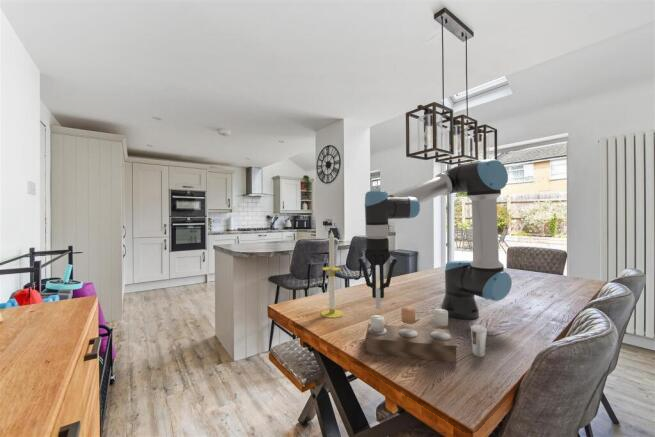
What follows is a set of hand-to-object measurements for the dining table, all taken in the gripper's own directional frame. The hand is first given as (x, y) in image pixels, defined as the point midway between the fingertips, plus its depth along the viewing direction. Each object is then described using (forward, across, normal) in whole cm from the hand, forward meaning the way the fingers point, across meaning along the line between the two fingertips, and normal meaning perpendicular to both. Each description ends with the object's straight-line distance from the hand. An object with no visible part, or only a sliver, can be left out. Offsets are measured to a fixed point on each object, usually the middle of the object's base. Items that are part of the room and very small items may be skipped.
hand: (378, 307), depth 96 cm
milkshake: (+14, -30, 0) cm, 33 cm away
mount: (+13, -9, 0) cm, 16 cm away
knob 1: (+7, 0, 0) cm, 7 cm away
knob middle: (+4, -10, 0) cm, 10 cm away
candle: (+13, +22, -26) cm, 36 cm away
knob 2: (+4, -20, 0) cm, 20 cm away
